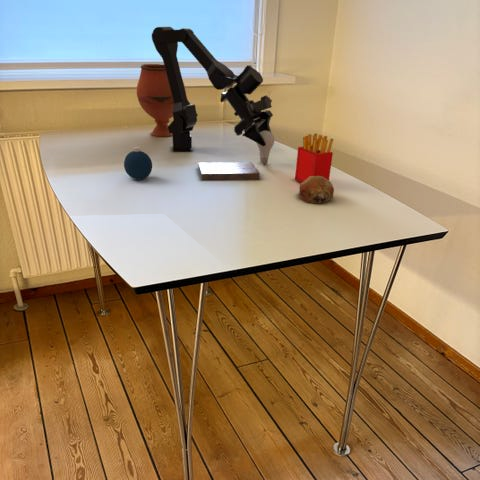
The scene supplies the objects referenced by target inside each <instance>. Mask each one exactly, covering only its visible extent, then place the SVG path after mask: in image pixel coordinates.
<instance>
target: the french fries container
mask: <svg viewBox="0 0 480 480" xmlns="http://www.w3.org/2000/svg"><path fill="white" fill-rule="evenodd" d="M333 143H334V138H330V139H328V136H327V135H323V134H318V133H317V132H316V133H313V135H312V134H311V133H310V134H309V133H308V134H307V135H305V136H303V137H302V145H303V146H298V147H297V156H296V165H295V172H294V173H295V174H294V175H295V176H294V180H295V181H297V182H299V183H300V184H301V183H302V182H304V181H305V180H306V179H308V177H309V176H321V177H324V178H326V179H327V180H329V181H330V176H331V168H332V164H333V163H332V162H333V155H334V153H333V152H334V151H331V149H332V146H333ZM327 146H328V147H327Z"/></svg>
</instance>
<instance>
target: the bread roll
mask: <svg viewBox="0 0 480 480" xmlns="http://www.w3.org/2000/svg"><path fill="white" fill-rule="evenodd" d="M298 192H299V193H298V195H299V199H300V200H301V201H303V202H306V203H310V204H318V205H319V204H320V205H321V204H326V203H328V202H330V201H331V200H332V199H333V197H334V193H335V191H334V185H333V183H332V182H331V181H330V179H329V180H327V179H326V178H324V177H321V176H309V177H308V179H306V180H305V181H304V182H302V183H301V182H300V185H299V191H298Z"/></svg>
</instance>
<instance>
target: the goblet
mask: <svg viewBox="0 0 480 480" xmlns="http://www.w3.org/2000/svg"><path fill="white" fill-rule="evenodd" d="M183 84H184V88H185V92H186V93H187V90H186V86H185V82H184V81H183ZM136 97H137V100H138V103H139V105H140V107H141V108H142V110H143V111H144V112H145V113H146V114H147V115H148V116H149V117H151V118H153V119H154V123H155V124H156V125H155V127H154V128H153V129H152V132H151V134H152V135H153V136H155V137H172V133H169V130H168V126H169V125H168V124H170V119H172V118H173V107H174V101H173V97H172V93H171V89H170V85H169V82H168V78H167V74H166V70H165V66H164V64H159V63H144V64H141V65H140V73H139V78H138V82H137V86H136Z"/></svg>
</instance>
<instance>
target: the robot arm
mask: <svg viewBox="0 0 480 480" xmlns="http://www.w3.org/2000/svg"><path fill="white" fill-rule="evenodd" d="M151 41H152V44H153V45H154V48H155V50H156V52H157V53H158V54H159V56H160V57H161V59H162V62H163V65H164V66H165V70H166V74H167V78H168V82H169V85H170V89H171V93H172V97H173V101H174V107H173V117H172V118H173V119H172V121H171V122H170V123H169V125H168V130H169V133H172V136H171V138H172V145H171V148H172V152H192V149H193V138H192V137H193V136H192V135H191V132H192V131H193V130H194V127H195V126H196V124H197V122H198V117H199V115H198V112H197V110H196V109H197V108H196V105H195V103H193V104H191V102H190V101H189V100H188V99H189V98H188V96H187V91H186V92H185V90H186V87H185V88H184V86H185V83H184V84H183V82H184V80H183V76H182V72H181V68H180V65H179V60H178V54H177V53H178V47H179V43H182V44H183V45H184V47H185V48H186V49H187V51H189V53H190V54H191V55H192V57H194V58H195V59H196V61H197V62H198V63H199V64H200V66H201V67H202V68H203V69H204V70H205V72H206V75H207V78H208V80H209V81H210V84H211V85H212V86H213V88H214V89H216V90H217V91H218V90H219V91H221V90H226V89H227V90H226V91H225V92H221V93H220V103H225V102H228V104H229V105H230V106H231V108H232V109H233V110H234V113H233V114H234V116H235V117H238V118H239V119H240V121H239V122H238V123H237V124H236V125H235V126H234V128H233V131H234V133H235V135H236V136H237V137H239V136H241V135H242V137H245V138H247V139H249V140H251V141H253V142H255V143H256V144H257V143H258V144H260V145H262V146H265V145H266V143H265V141H264V139H263V137H262V136H261V134H260V132H262V131H269V132H271V133H272V130H271V128H270V121H271V118H272V117H273V116H274V114H273V113H272V110H268V109H271V108H272V107H273V106H272V102H273V99H271V98H270V96H268V95H267V94H266V95H263V96H261V97H260V99H259V100H258V101H257V100H256V101H254V100H253V99H251V100H250V99H249V98H248V97H247V95H250V96H251V95H252V94H253V93H254V92H255V91H256V90H257V88H258V87H259V86H260V85H261V84H262V83H263V82H264V78H263V75H262V74H261V73H260V72H259V71H258V70H256V69H255V68H254V67H252V65H251V64H249V65H246V66H245V67H244V69H243V71H241V72H240V74H236V73H234V71H233V70H231V68H229V67H228V66H227V65H225V64H224V63H222V62H220V61H219V60H217V58H215V57H214V55H213V54H212V53H211V52H210V50H209V49H208V48H207V47H206V46H205V45H204V43H202V41H201V40H200V39H199V38H198V36H197V35H196V34H195V32H194V30H193V29H192V28H190V27H186V28H185V27H184V28H180V29H175V28H173V27H172V26H157V27H155V28H154V29H153V30H152V32H151ZM243 132H244V133H243Z"/></svg>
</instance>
